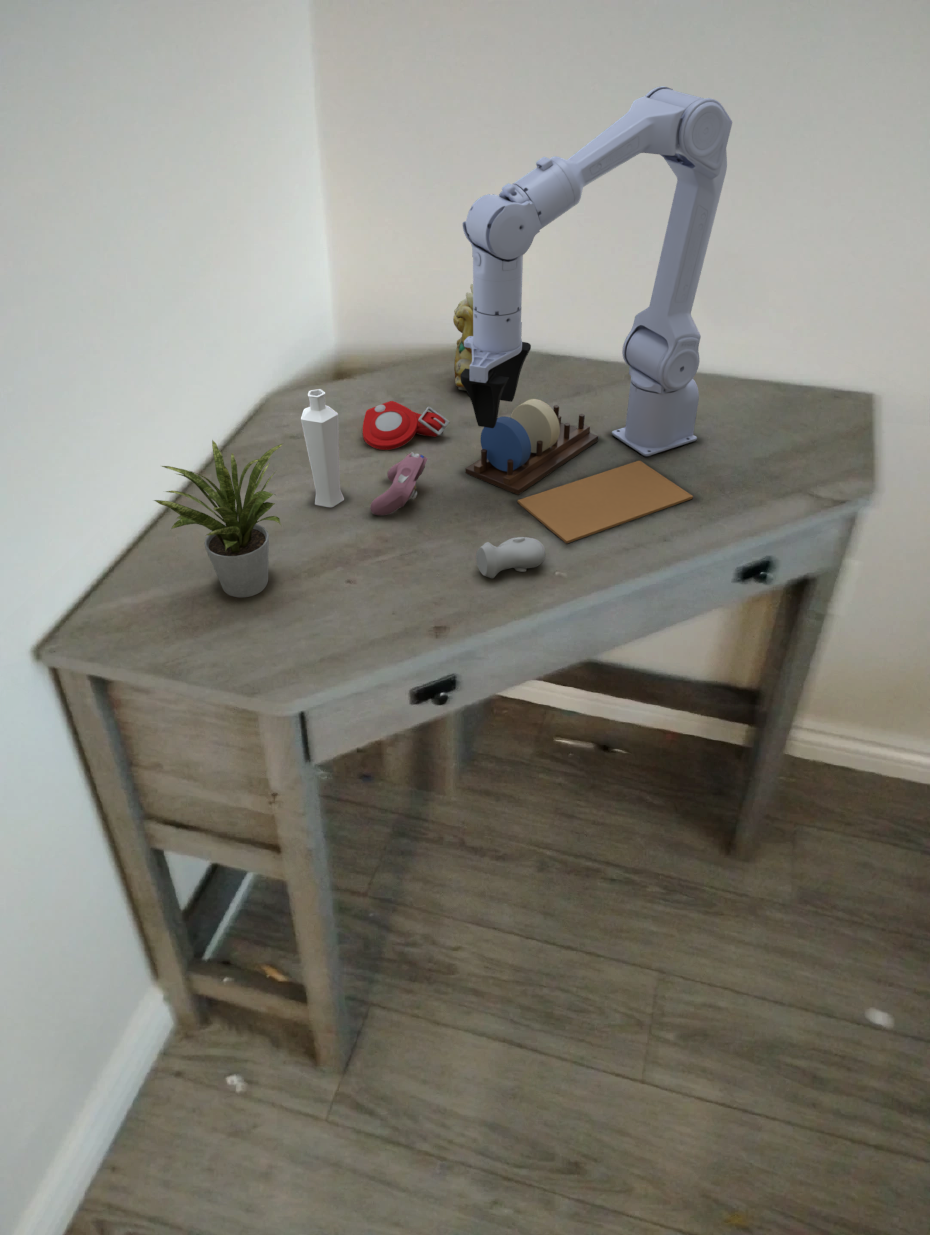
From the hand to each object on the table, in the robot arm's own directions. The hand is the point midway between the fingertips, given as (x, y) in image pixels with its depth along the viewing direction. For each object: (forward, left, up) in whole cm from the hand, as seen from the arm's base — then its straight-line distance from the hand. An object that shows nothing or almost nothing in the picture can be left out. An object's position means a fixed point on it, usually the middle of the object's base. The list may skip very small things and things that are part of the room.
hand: (496, 412), depth 118 cm
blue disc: (-2, -1, -6) cm, 6 cm away
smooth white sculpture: (+9, +17, -10) cm, 22 cm away
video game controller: (+13, -3, -10) cm, 17 cm away
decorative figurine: (-14, -27, -2) cm, 30 cm away
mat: (-10, +11, -10) cm, 18 cm away
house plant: (+36, +3, -10) cm, 37 cm away
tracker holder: (+5, -18, -10) cm, 21 cm away
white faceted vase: (+21, -8, -10) cm, 24 cm away
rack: (-8, -3, -10) cm, 14 cm away
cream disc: (-8, -3, -6) cm, 11 cm away
